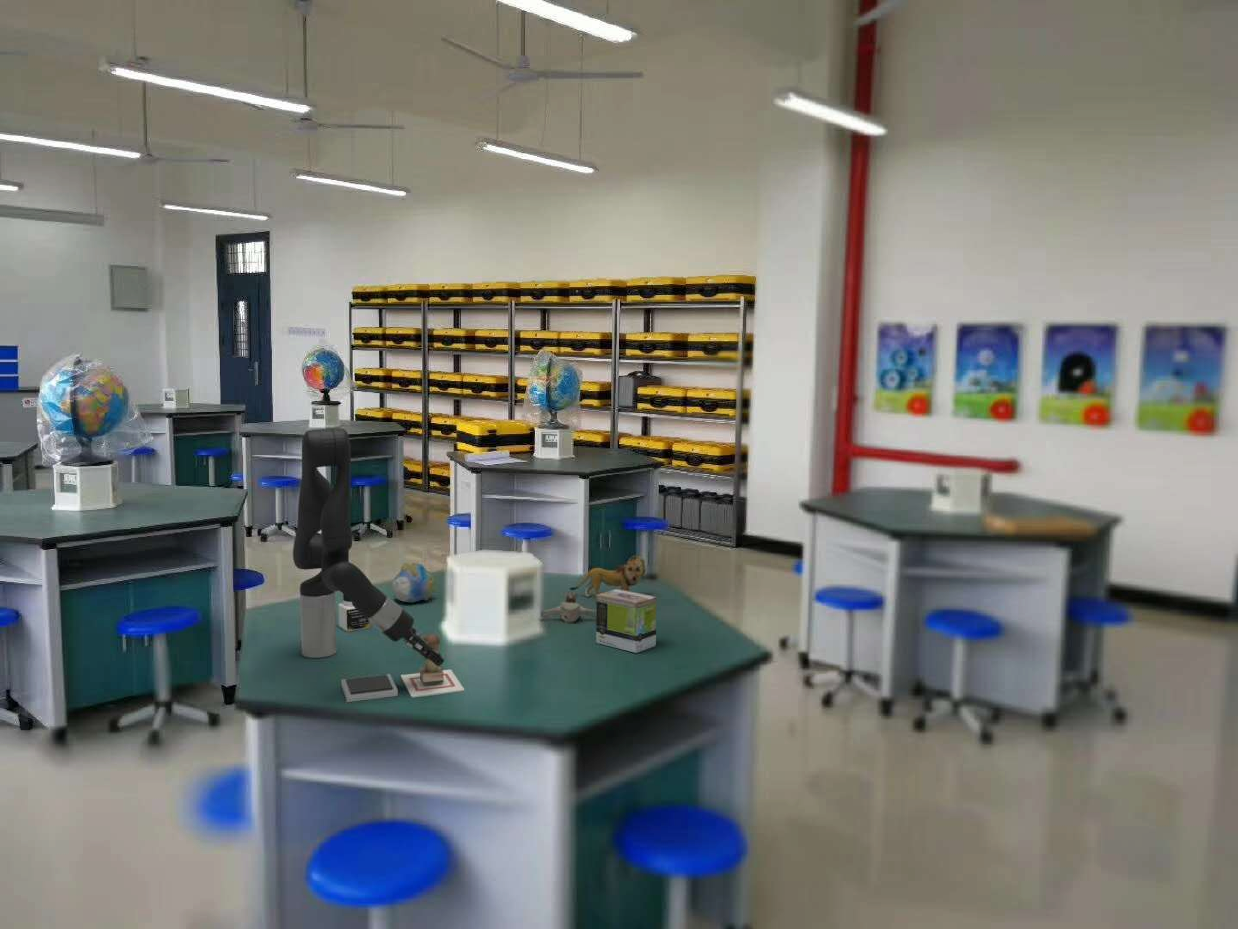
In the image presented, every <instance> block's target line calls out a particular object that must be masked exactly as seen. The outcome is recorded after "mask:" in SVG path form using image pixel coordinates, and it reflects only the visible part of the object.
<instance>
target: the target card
mask: <svg viewBox="0 0 1238 929" xmlns="http://www.w3.org/2000/svg"><path fill="white" fill-rule="evenodd" d="M442 671H443V672H444V680H443V683H433V684H423V683H422V681H421V679H420V672H417V673H409V674H401V675H400V677H401V679H402V681H403V683H404V685H405V687H406V690H407V691H408V693H409V695H410V697H411V698H413V699H414V698H420V697H429V696H438V695H445V694H455V693H460V692H461V693H462V692H465V688H464V686H462V684H461V682H460V680H458V678H457V676H456V675H455V673H454V672H453V670H452V669H444V670H443V669H442Z"/></svg>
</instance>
